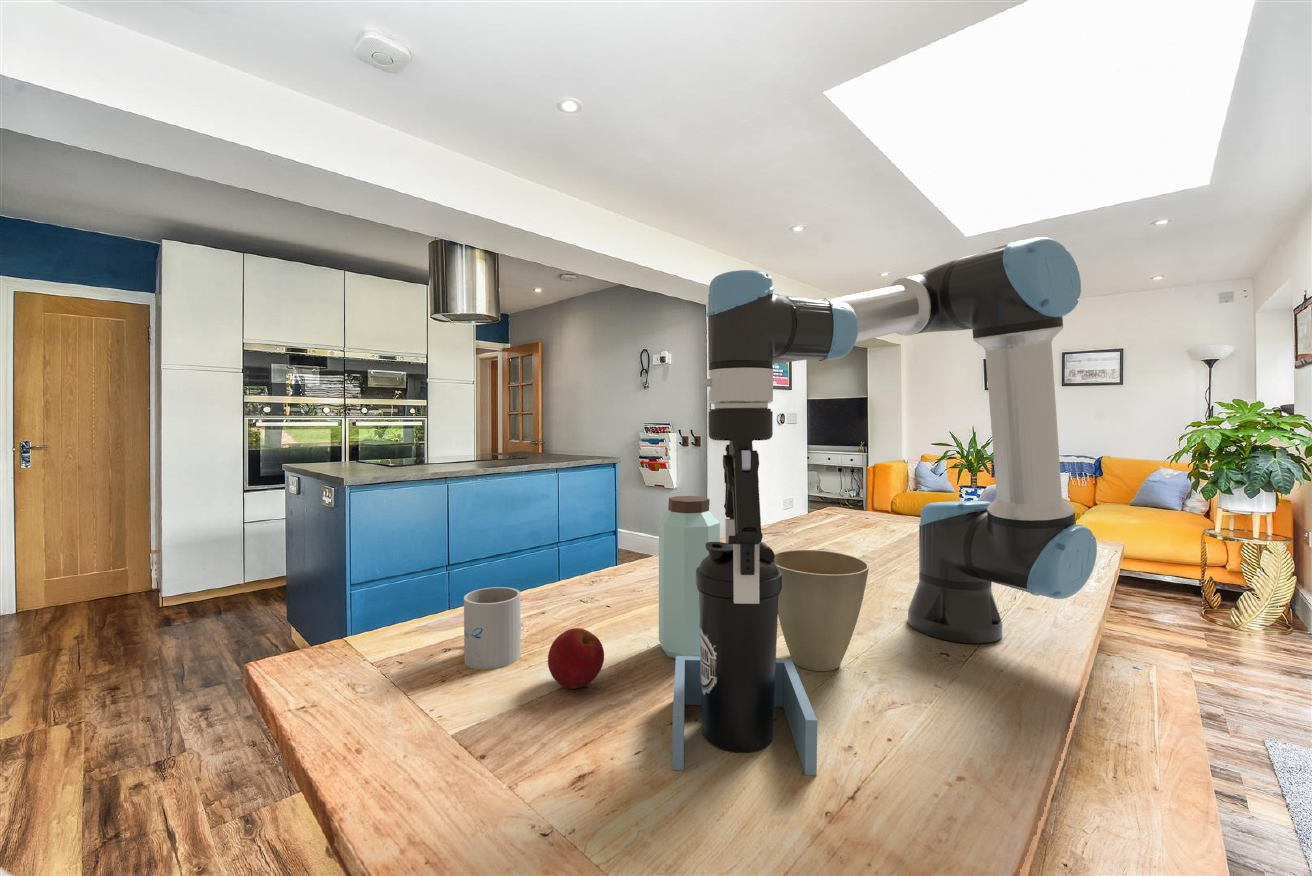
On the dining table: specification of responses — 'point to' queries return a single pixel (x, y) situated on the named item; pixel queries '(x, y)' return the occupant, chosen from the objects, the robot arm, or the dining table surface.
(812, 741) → the u rest
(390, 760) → the dining table surface
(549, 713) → the dining table surface
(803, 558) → the plant pot
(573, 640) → the apple
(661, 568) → the water bottle
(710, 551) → the water bottle
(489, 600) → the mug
